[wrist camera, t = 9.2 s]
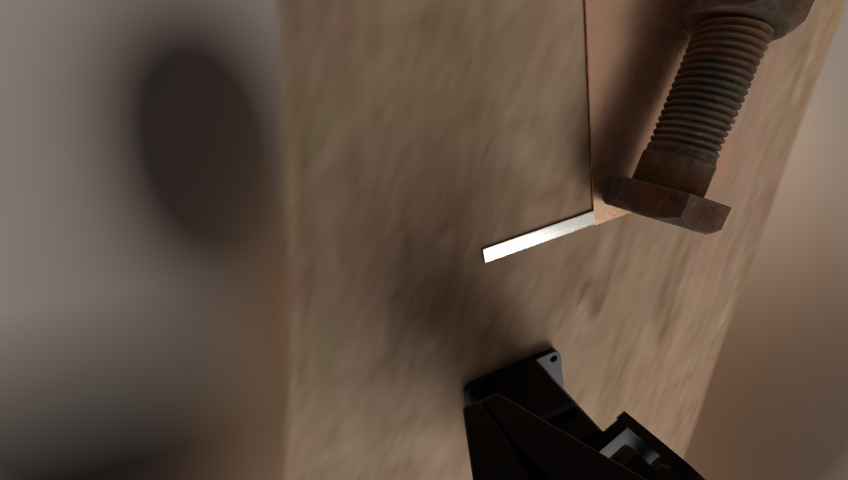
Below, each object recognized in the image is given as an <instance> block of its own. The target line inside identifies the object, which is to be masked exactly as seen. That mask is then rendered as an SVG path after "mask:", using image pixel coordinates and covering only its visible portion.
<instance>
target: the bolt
mask: <svg viewBox="0 0 848 480" xmlns="http://www.w3.org/2000/svg"><path fill="white" fill-rule="evenodd" d="M813 2H814V0H686V3H685V5H684V8H683V10H682V13H681V15H680V17H681V18H682V20H683V22H684V24H685V25H686V27H687V28H688V29H689V30H690V31H691V32H693V34H692V35H691V40H690V41H689V43H688V47H687V48H686V50H685V53H686V54H685V55H684V56H683V61H682V62H681V63H680V68H679V69H678V71H677V74H678V75H676V76H675V78H674V80H675V81H674V82H673V83H672V85H671V87H672V89H670V90H669V95H668V96H667V98H666V101H667V102H665V103H664V105H663V106H664V109H662V110H661V115H660V116H659V118H658V120H659V122H657V123H656V124H655V126H656V129H654V130H653V134H654V135H652V136H651V137H650V139H651V141H650V142H649V143H648V145H647V148H646V149H645V150H644V151H643V152H642V155H641V157H640V159H639V162H638V164H637V167H636V169H635V171H634V174H633V176H632V178H629V177H622V176H609V178H608V180H607V183H606V185H605V188H604V191H603V193H602V199H603V201H604V203H605V204H607V205H611V206H614V207H617V208H621V209H624V210H627V211H630V212H633V213H636V214H639V215H643V216H646V217H649V218H653V219H656V220H660V221H663V222H666V223H670V224H673V225H677V226H680V227H684V228H687V229H690V230H693V231H696V232H699V233H703V234H710V233H714V232H717V231H719V230H721V229H722V227H723V225H724V223H725V221H726V218H727V216H728V214H729V212H730V210H731V207H728V206H725V205H722V204H720V203H717V202H714V201H711V200H708V199H705V198H704V196H705V194H706V191H707V189H708V187H709V185H710V182H711V180H712V178H713V175H714V173H715V171H716V168H717V167H716V163H717V159H718V158H719V157H720V155H719V154H718V152H717V151H721V150H722V146H721V144H724V143H725V140H724V139H723V138H726V137H727V136H728V133H727V132H726V131H730V130H731V129H732V127H731V126H730V124H733V123H735V120H734V118H733V117H736V116H738V112H737V111H736V110H739V109H741V106H742V105H741V104H740V103H743V102H744V101H745V99H744V97H743V96H745V95H747V94H748V91H747V90H746V89H748V88H750V86H751V83H750V82H751V81H753V78H754V75H753V74H755V73H756V70H757V68H756V67H757V66H759V64H760V61H759V60H760V59H762V58H763V55H764V53H763V52H764V51H766V50H767V48H768V47H767V44H769V43H770V42H771V41H773V40H777V39H780V38H782V37H784V36H785V35H787V34H788V33H790V32H791V31H793V30H794V29H795V28H797V27H798V26H799V25H800V24H801V23H803V22H804V21H805V20H806V17H807V15H808V13H809V11H810V9H811V7H812V4H813Z"/></svg>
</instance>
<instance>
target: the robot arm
mask: <svg viewBox="0 0 848 480" xmlns="http://www.w3.org/2000/svg"><path fill="white" fill-rule="evenodd" d="M472 390H474V391H472ZM471 391H472V392H471ZM464 396H465V400H466V405H467V406H465V407H464V408H463V414H464V421H465V428H466V435H467V442H468V449H469V456H470V463H471V470H472V476H473V480H705V479H704V478H703V477H702V476H701V475H700V474H699V473H698V472H696V471H695V470H694V469H693V468H692V467H691V466H690V465H688V463H686V462H685V461H684V460H683V459H682V458H681V457H679V456H678V455H677V454H676V453H675V452H673V451H672V450H671V449H670V448H669V447H667V446H666V445H665V444H664V443H662V442H661V441H660V440H659V439H658V438H656V437H655V436H654V435H653V434H652V433H650V432H649V431H648V430H647V429H645V428H644V427H643V426H642V425H641V424H639V423H638V422H637V421H636V420H635V419H633V418H632V417H631V416H630V415H628V414H627V413H626V412H625V411H624V412H622V413H621V414H620V415H619V416H618V417H617V420H616V421H615V422H614V423H613V424H612V425H610V426H609V427H608V428H607V429H606V430H605V431H602V430H601V429H600V428H599V427H598V426H597V425H596V424H595V423H594V422H593V420H592V419H591V418H590V417H589V416H588V415H587V414H586V413H585V412H584V411H583V410H582V409H581V408H580V407H579V406H578V404H577V403H576V402H575V401H574V400H573V399H572V398H571V396H570V395H569V394H568V393H567V392H566V391H565V390H564V389H563V377H562V366H561V356H560V353H559V352H558V351H557V350H555V349H554V348H551V349H548V350H545V351H543V352H541V353H538V354H536V355H534V356H531V357H529V358H526V359H524V360H522V361H519V362H517V363H515V364H512V365H510V366H508V367H505V368H503V369H500V370H498V371H496V372H493V373H491V374H489V375H486V376H484V377H481V378H479V379H477V380H474V381H472V382H470V383H468V384H467V385H466V386H465V387H464Z"/></svg>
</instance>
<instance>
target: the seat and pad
mask: <svg viewBox="0 0 848 480" xmlns="http://www.w3.org/2000/svg"><path fill="white" fill-rule="evenodd" d="M685 3H686V0H584V5H585V30H586V55H587V80H588V105H589V129H590V154H591V179H592V204H593V211H590V212H587V213H584V214H582V215H579V216H576V217H573V218H570V219H567V220H564V221H562V222H559V223H556V224H553V225H550V226H547V227H544V228H541V229H539V230H536V231H533V232H530V233H527V234H524V235H521V236H519V237H516V238H513V239H510V240H507V241H504V242H501V243H498V244H496V245H493V246H490V247H487V248H484V249H482V250H483V256H484V262H485V263H486V262H489V261H492V260H495V259H498V258H500V257H503V256H506V255H509V254H512V253H514V252H517V251H520V250H523V249H526V248H528V247H531V246H534V245H537V244H540V243H542V242H545V241H548V240H551V239H554V238H556V237H559V236H562V235H565V234H568V233H570V232H573V231H576V230H579V229H582V228H584V227H587V226H590V225H597V224H600V223H603V222H606V221H608V220H611V219H614V218H617V217H620V216H622V215H625V214H628V213H631V212H630V211H627V210H624V209H621V208H617V207H614V206H611V205H607V204H605V203H604V201H603V199H602V193H603V191H604V188H605V185H606V183H607V180H608V178H609V176H622V177H629V178H632V176H633V174H634V171H635V169H636V167H637V164H638V162H639V159H640V157H641V155H642V152H643V151H644V150H645V149H646V148H647V145H648V143H649V142H650V141H651V139H650V137H651V136H652V135H654V134H653V130H654V129H656V126H655V124H656V123H657V122H659V120H658V118H659V116H660V115H661V110H662V109H664V106H663V105H664V103H665V102H667V101H666V98H667V96H668V95H669V90H670V89H672V87H671V85H672V83H673V82H674V81H675V80H674V78H675V76H676V75H678V74H677V71H678V69H679V68H680V63H681V62H682V61H683V56H684V55H685V54H686V53H685V50H686V48H687V47H688V43H689V41H690V40H691V35H692V34H693V32H691V31H690V30H689V29H688V28H687V27H686V25H685V24H684V22H683V20H682V18H681V17H680V15H681V13H682V10H683V8H684V5H685ZM733 118H735V117H733ZM730 126H731V127H732V129H731V130H730V131H726V132H727V133H728V136H727V137H726V138H723V139H724V140H725V143H724V144H721V146H722V150H721V151H717V152H718V154H719V155H720V157H719V158H718V159H717V163H716V167H717V168H716V171H715V173H714V175H713V178H712V180H711V182H710V184H712V183H714V182H717V181H720V180H723V179H726V178H728V177H729V167H730V157H731V148H732V138H733V128H734V123H733V124H730Z"/></svg>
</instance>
